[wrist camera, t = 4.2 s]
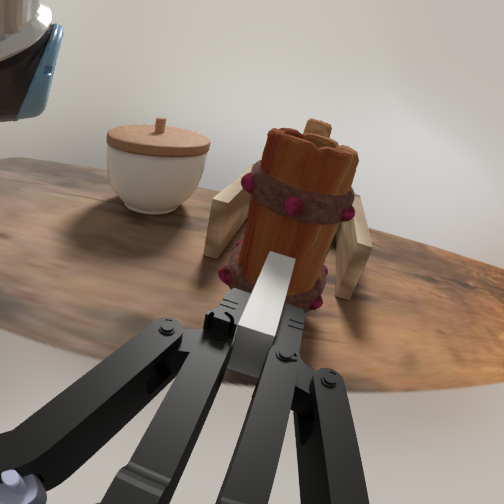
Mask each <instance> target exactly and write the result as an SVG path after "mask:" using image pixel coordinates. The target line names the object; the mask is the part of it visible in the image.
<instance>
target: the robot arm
mask: <svg viewBox="0 0 504 504" xmlns="http://www.w3.org/2000/svg"><path fill="white" fill-rule="evenodd" d="M63 31H64V28H63V26H61V25H57V24H52V25H51V11H50V8H49V7H48V6H47V5H46V4H44V3H42V2H41V1H39V0H0V122H5V121H18V120H19V119H24V118H32V117H36V116H38V115H40V114H41V113H42V112H43V111H44V110H45V107H46V105H47V101H48V96H49V92H50V87H51V82H52V78H53V73H54V69H55V65H56V60H57V56H58V52H59V48H60V45H61V40H62V37H63ZM295 260H296V259H294V258H291V257H288V256H285V255H281V254H278V253H275V252H272V251H270V252H269V254H268V257H267V259H266V261H265V264H264V266H263V268H262V271H261V273H260V275H259V277H258V280H257V282H256V284H255V287H254V289H253V291H252V294H251V293H248V292H245V291H242V290H239V289H236V288H233V289H231V290H230V291H228V292H227V293H226V295H225V296H224V298H223V300H222V302H221V304H220V306H219V307H218V308H215V309H212V310H209V311H208V312H207V313H206V315H205V321H204V327H203V328H202V329H197V330H191V329H183V327H182V325H181V323H180V322H178V321H177V320H175V319H173V318H167V317H165V318H159V319H157V320H155V321H154V322H153V323H151V324H150V325H149V326H147V327H146V328H145V329H143V330H142V331H141V332H140V333H138V334H137V335H136V336H134V337H133V338H132V339H130V340H129V341H128V342H126V343H125V344H124V345H123V346H121V347H120V348H119V349H117V350H116V351H115V352H113V353H112V354H111V355H110V356H108V357H107V358H106V359H104V360H103V361H102V362H100V363H99V364H98V365H96V366H95V367H94V368H93V369H91V370H90V371H89V372H87V373H86V374H85V375H83V376H82V377H81V378H80V379H78V380H77V381H76V382H74V383H73V384H72V385H70V386H69V387H68V388H67V389H65V390H64V391H63V392H61V393H60V394H59V395H58V396H56V397H55V398H54V399H52V400H51V401H50V402H48V403H47V404H46V405H45V406H43V407H42V408H41V409H39V410H38V411H37V412H35V413H34V414H33V415H32V416H30V417H29V418H28V419H26V420H25V421H24V422H23V423H21V424H20V425H19V426H17V427H16V428H15V429H13V430H12V431H8V432H5V433H1V434H0V504H46V501H47V494H46V491H49V490H51V489H52V488H54V487H56V486H58V485H59V484H61V483H62V482H63V481H65V480H66V479H67V478H68V477H70V476H71V475H72V474H73V473H74V472H75V471H76V470H78V469H79V468H80V467H81V466H82V465H83V464H84V463H85V462H86V461H87V460H88V459H90V458H91V457H92V456H93V455H94V454H95V453H96V452H97V451H98V450H99V449H100V448H102V446H104V445H105V444H106V443H107V442H108V441H109V440H110V439H111V438H112V437H113V436H114V435H115V434H116V433H117V432H119V431H120V430H121V429H122V428H123V427H124V426H125V425H126V424H127V423H128V422H129V421H130V420H131V419H132V418H133V417H134V416H136V415H137V414H138V413H139V412H140V411H141V410H142V409H143V408H144V407H145V406H146V405H147V404H148V403H149V402H150V401H151V400H152V399H153V398H154V397H155V396H156V395H157V394H158V393H159V392H160V391H161V390H162V389H164V387H166V386H167V384H168V383H170V382H171V381H172V380H173V379H174V378H175V377H176V378H175V380H174V382H173V384H172V385H171V387H170V389H169V391H168V392H167V394H166V396H165V398H164V400H163V401H162V403H161V405H160V407H159V409H158V410H157V412H156V414H155V416H154V418H153V419H152V421H151V423H150V425H149V427H148V428H147V430H146V432H145V434H144V436H143V437H142V439H141V441H140V443H139V445H138V446H137V448H136V450H135V452H134V454H133V456H132V457H131V459H130V461H129V463H128V464H127V465H126V466H124V467H123V468H121V469H120V470H119V472H118V473H117V474H116V476H115V478H114V480H113V481H112V483H111V485H110V487H109V488H108V490H107V492H106V494H105V496H104V498H103V499H102V501H101V503H97V504H169V503H170V501H171V499H172V496H173V494H174V491H175V490H176V487H177V485H178V483H179V480H180V478H181V476H182V474H183V471H184V469H185V467H186V464H187V462H188V459H189V458H190V455H191V453H192V450H193V448H194V446H195V444H196V441H197V439H198V437H199V434H200V432H201V430H202V427H203V425H204V422H205V420H206V418H207V416H208V413H209V411H210V408H211V406H212V404H213V401H214V399H215V397H216V394H217V392H218V389H219V387H220V385H221V382H222V380H223V378H224V374H225V370H226V368H228V369H231V370H234V371H237V372H240V373H243V374H246V375H249V376H252V377H256V378H259V379H258V382H257V384H256V387H255V389H254V392H253V395H252V400H251V403H250V406H249V409H248V411H247V415H246V418H245V421H244V424H243V427H242V430H241V432H240V435H239V438H238V441H237V444H236V447H235V450H234V453H233V456H232V459H231V462H230V464H229V467H228V470H227V473H226V476H225V479H224V481H223V484H222V487H221V490H220V492H219V495H218V498H217V501H216V503H215V504H268V501H269V497H270V493H271V489H272V485H273V482H274V478H275V474H276V469H277V465H278V461H279V457H280V453H281V449H282V444H283V440H284V436H285V431H286V427H287V422H288V417H289V413H290V409H291V410H292V411H294V413H293V414H294V425H295V437H296V448H297V461H298V472H299V486H300V499H301V504H369V499H368V494H367V488H366V483H365V477H364V472H363V467H362V462H361V457H360V452H359V447H358V442H357V437H356V432H355V428H354V423H353V419H352V414H351V410H350V405H349V401H348V397H347V392H346V388H345V384H344V380H343V378H342V376H341V375H340V374H339V373H338V372H336V371H334V370H333V369H329V368H321V369H319V370H317V371H316V370H314V369H312V368H310V367H309V366H307V365H306V364H305V363H304V362H303V361H302V359H301V357H300V345H301V340H302V334H303V329H304V323H305V317H306V316H305V314H304V311H303V309H301V308H298V307H295V306H292V305H288V304H285V303H284V302H285V298H286V294H287V290H288V287H289V283H290V279H291V275H292V271H293V268H294V264H295Z"/></svg>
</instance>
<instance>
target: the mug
mask: <svg viewBox="0 0 504 504" xmlns="http://www.w3.org/2000/svg"><path fill="white" fill-rule="evenodd" d="M331 129H332V128H331V125H330V124H328V123H325V122H323V121H318V120H315V119H309V120H308V121H307V124H306V127H305V130H304V133H303V134H301V133H300V132H298V131H297V130H295V129H290V128H281V129H276V128H273V129H272V130H270V131H269V132H268V138H267V142H266V145H265V148H264V151H263V155H262V160H260V161H258V162H256V163H255V165H254V166H253V167H252V170H251V173H247V174H246V175H244V176H243V177H242V179H241V186H242V188H243V189H244V190H245V191H247V192H248V193H249V194H250V195H251V199H250V203H249V210H248V219H247V224H246V229H245V233H244V238H243V240H240V241H239V242H238V243H237V246H236V248H235V249H234V250H233V252H232V254H231V256H230V260H229V264H228V266H224V267H222V268H220V270H219V272H218V274H219V278H220V279H221V281H222V282H224V283H225V284H227V285H228V286H229V287H230V289H233V288H236V289H239V290H242V291H245V292H248V293H251V294H252V291H253V289H254V287H255V284H256V282H257V280H258V277H259V275H260V273H261V271H262V268H263V266H264V264H265V261H266V259H267V257H268V254H269V252H270V251H272V252H275V253H278V254H281V255H285V256H288V257H291V258H294V259H296V260H295V264H294V268H293V271H292V275H291V279H290V283H289V287H288V290H287V294H286V298H285V302H284V303H285V304H288V305H292V306H295V307H298V308H301V309H303V311H304V313H306V312H308V311H310V310H316V309H317V308H319V307H321V306H322V304H323V300H322V296H321V294H322V291H323V289H324V287H325V284H326V275H327V273H328V270H327V267H326V266H325V265H323V264H324V262H325V259H326V256H327V254H328V251H329V248H330V246H331V243H332V241H333V238H334V236H335V234H336V231H337V229H338V226H339V223H340V222H347V221H350V220H351V219H352V218H353V217H354V216H355V209H354V207H353V206H352V204H353V202H354V199H355V194H354V191H353V189H352V187H351V185H352V181H353V178H354V175H355V172H356V167H357V164H358V162H359V159H358V154H357V152H356V151H355V150H353V149H352V148H350V147H348V146H344V145H341V146H339V145H338V143H337V142H335V141H334V140H333V139H330V134H331Z"/></svg>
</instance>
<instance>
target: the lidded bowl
mask: <svg viewBox="0 0 504 504" xmlns="http://www.w3.org/2000/svg"><path fill="white" fill-rule="evenodd" d="M165 124H166V119H165V118H156V124H155V125H127V126H120V127H116V128H113V129H111V130H109V131H108V133H107V171H108V177H109V181H110V183H111V186H112V188H113V190H114V192H115V193H116V194H117V195H118V197H119V198H120V199H121V200H122V201H124V205H125V206H126V207H127V208H128V209H130V210H132V211H134V212H137V213H141V214H149V215H161V214H167V213H170V212H173V211H175V210H176V209H177V208H178V206H179V205H180V204H182V203H183V202H184V201H186V200H187V199H188V198H189V197H190V196H191V195H192V193H193V192H194V191H195V189H196V188H197V186H198V184H199V181H200V179H201V177H202V173H203V170H204V166H205V162H206V157H207V152H208V150H209V147H210V140H209V139H208V138H207V137H206V136H204V135H202V134H199V133H197V132H194V131H190V130H186V129H181V128H176V127H169V126H165Z"/></svg>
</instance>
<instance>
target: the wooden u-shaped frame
mask: <svg viewBox="0 0 504 504" xmlns="http://www.w3.org/2000/svg"><path fill="white" fill-rule="evenodd" d="M254 165H255V164H253V165H252V166H251V167H250V168H249V169H247V170H246V171H245V172H244V173H243V174H241V175H240V176H239V177H238V178H236V179H235V180H234V181H233V182H232V183H231V184H229V185H228V186H227V187H226V188H225V189H224V190H222V191H221V192H220V193H219V194H218V195H216V196H215V197H214V198H213V200H212V206H211V212H210V217H209V223H208V229H207V235H206V241H205V247H204V254H203V255H205V256H208V257H211V258H215V259H218V258H219V256H220V255H221V254H222V252H223V251H224V249H225V248H226V247H227V245H228V244H229V242H230V241H231V240H232V238H233V237H234V235H235V234H236V232H237V231H238V230H239V228H240V227H241V225H242V224H243V223H244V221H245V220H246V218H247V217H248V210H249V203H250V199H251V195H250V194H249V193H248V192H247V191H245V190H244V189H243V188H242V186H241V179H242V177H243V176H244V175H246V174H247V173H251V170H252V167H253V166H254ZM352 206H353V207H354V209H355V216H354V217H353V218H352V219H351V220H350V221H347V222H340V223H339V226H338V229H337V231H336V285H335V296H336V297H340V298H343V299H346V300H350V298H351V296H352V294H353V292H354V289H355V287H356V285H357V283H358V281H359V278H360V276H361V274H362V271H363V269H364V267H365V265H366V262H367V260H368V258H369V255H370V253H371V250H372V248H373V247H372V242H371V238H370V234H369V230H368V226H367V222H366V218H365V214H364V210H363V206H362V202H361V199H360V196H359V195H356V194H355V199H354V202H353V204H352Z"/></svg>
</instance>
